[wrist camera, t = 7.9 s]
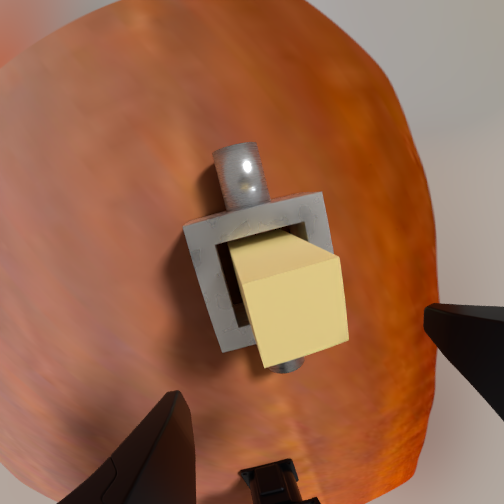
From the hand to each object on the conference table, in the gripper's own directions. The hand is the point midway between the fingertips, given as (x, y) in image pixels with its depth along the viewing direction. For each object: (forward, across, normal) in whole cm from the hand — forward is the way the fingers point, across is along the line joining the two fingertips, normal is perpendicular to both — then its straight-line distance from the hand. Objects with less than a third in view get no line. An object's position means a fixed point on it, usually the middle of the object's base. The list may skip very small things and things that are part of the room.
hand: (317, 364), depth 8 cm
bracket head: (+13, 0, 0) cm, 13 cm away
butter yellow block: (+13, 0, 0) cm, 13 cm away
